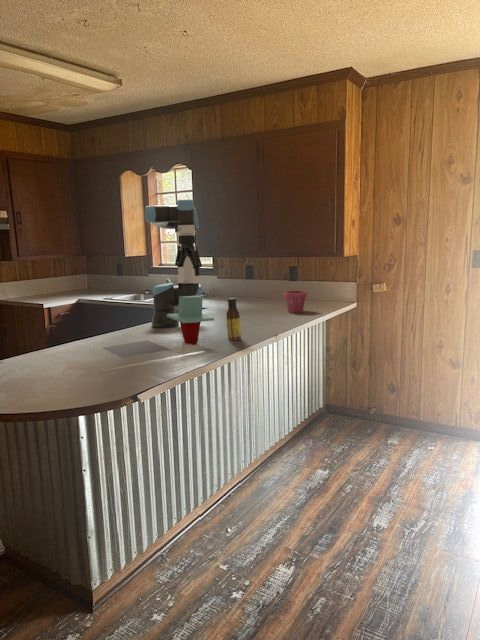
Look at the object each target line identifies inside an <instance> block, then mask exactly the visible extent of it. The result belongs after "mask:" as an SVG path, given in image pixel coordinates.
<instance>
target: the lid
mask: <svg viewBox="0 0 480 640" xmlns="http://www.w3.org/2000/svg"><path fill="white" fill-rule="evenodd" d="M203 299H204V297H203V296H202V295H201V296H179V306H178V312H176V313H175V314H167V317H169V318H171V319H174V320H177V321H179V323H180V322H182V323H191V322H201V323H202V322H210V321H211V322H212V321H215V317H213V316H210V315H208V314H204V313H203Z"/></svg>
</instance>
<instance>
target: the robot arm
mask: <svg viewBox="0 0 480 640" xmlns="http://www.w3.org/2000/svg"><path fill="white" fill-rule="evenodd" d="M197 213H198V212H197V209H196V207H195V206H194V200H193V199H186V198H185V199H177V201H176V204H175V205H173V204H172V205H146V206H145V208H144V216H145V218H144V219H145V221H146V223H147V224H148V223H151V224H153V225H154V226H156V227H158V228H160V229H161V228H162V229H167V230H174V233H175V234H176V235H177V241H178V245H177V251H176V257H175V263H174V264H175V265H174V266H177V273H178V274H177V275H178V281H177V285H175V284H174V283H173V282H169V283H167V282H166V283H162V284H161V283H160V284H158V285H154V286H153V288H152V296H153V299H152V300H153V315H152V320H151V327H153V328H157V329H158V328H159V329H162V328H163V329H166V328H175V327H177V326H180V322H179V321H177V320H174V319H171V318H169V317H167V314H175V313H177V312H176V307H179V296H202V284H200V268H202V266H203V264H202V261H201V257H200V254H199V251H198V246H197V245H195V244H196V236H195V234H196V233H197V229H199V227H200V225H199V218H198V214H197Z"/></svg>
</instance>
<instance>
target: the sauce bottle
mask: <svg viewBox="0 0 480 640" xmlns="http://www.w3.org/2000/svg"><path fill="white" fill-rule="evenodd" d="M227 303H228V304H227V305H228V307H227V310H226V325H227V337H228V340H229V341H239V340H241V339H242V337H241V336H242V332H241V316H240V312H239V310H238V308H237V298H236V297H229V298H227Z"/></svg>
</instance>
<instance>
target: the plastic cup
mask: <svg viewBox="0 0 480 640" xmlns="http://www.w3.org/2000/svg"><path fill="white" fill-rule="evenodd" d="M201 323H202V322H191V323H182V322H179V326H180V329H181V333H182V337H183V343H184V344H187V345H193V346H194V345H198V340H199V334H200V327H201Z"/></svg>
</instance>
